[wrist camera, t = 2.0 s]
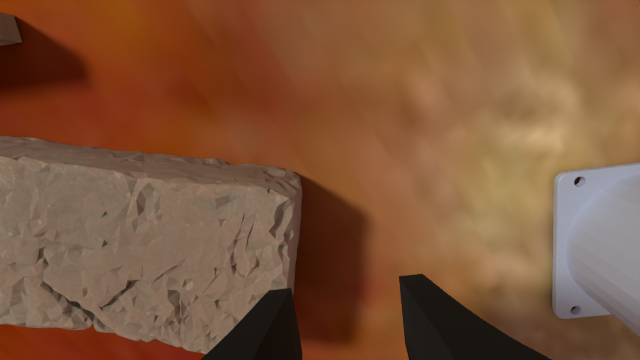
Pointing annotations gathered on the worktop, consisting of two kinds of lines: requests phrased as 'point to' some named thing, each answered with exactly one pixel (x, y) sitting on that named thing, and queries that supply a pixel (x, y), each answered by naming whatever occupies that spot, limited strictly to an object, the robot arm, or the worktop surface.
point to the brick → (141, 241)
